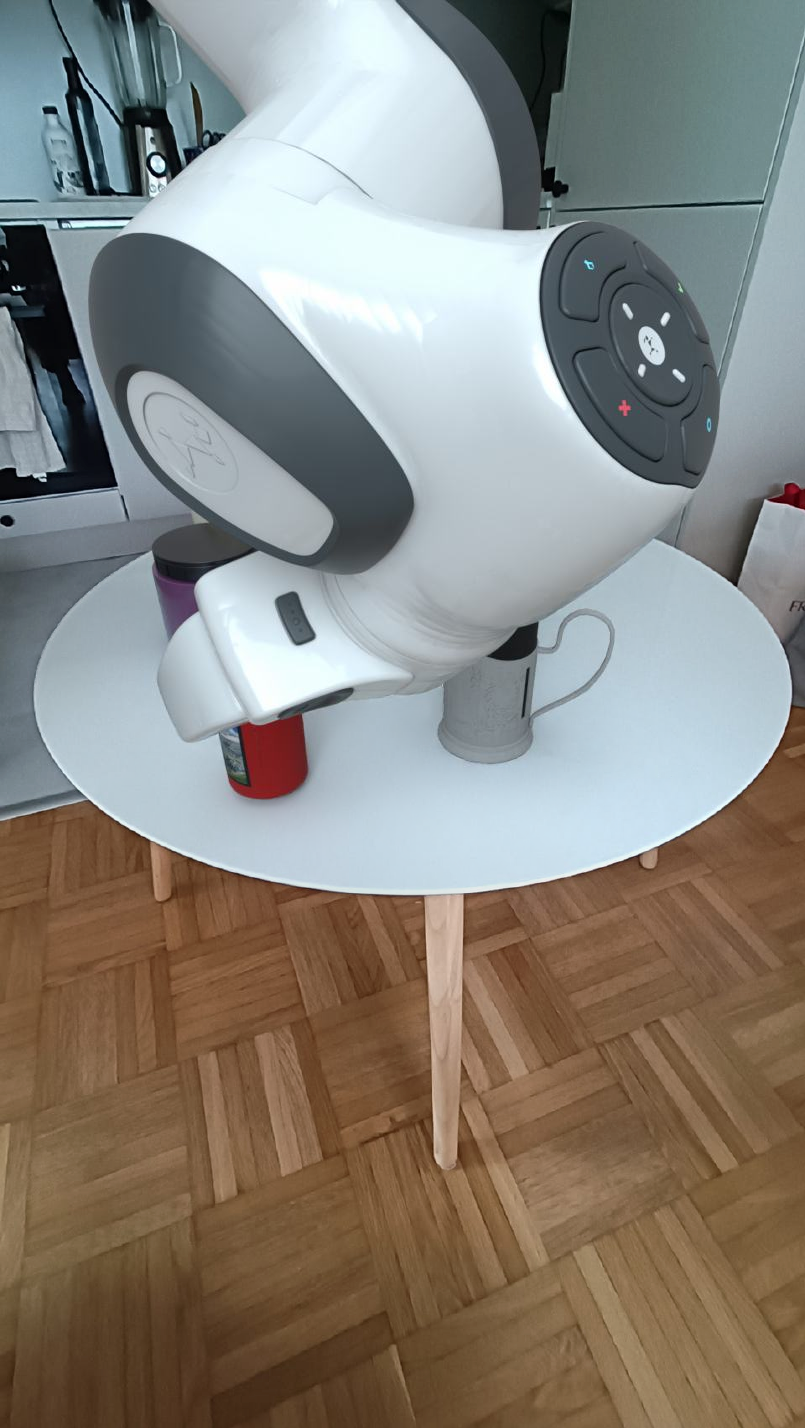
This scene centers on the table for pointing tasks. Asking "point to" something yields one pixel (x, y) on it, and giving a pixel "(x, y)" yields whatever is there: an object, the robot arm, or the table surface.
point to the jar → (174, 600)
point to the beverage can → (265, 757)
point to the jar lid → (196, 551)
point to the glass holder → (503, 697)
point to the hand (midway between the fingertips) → (316, 679)
